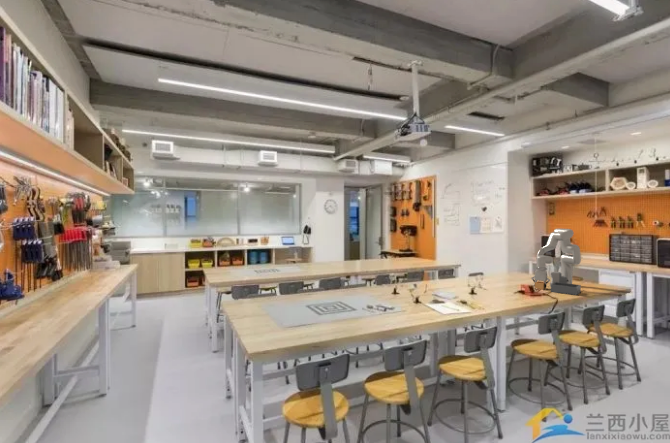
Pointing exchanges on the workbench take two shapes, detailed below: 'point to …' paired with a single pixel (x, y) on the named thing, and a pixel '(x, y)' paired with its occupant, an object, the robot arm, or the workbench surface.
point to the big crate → (566, 288)
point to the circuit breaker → (557, 278)
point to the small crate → (539, 285)
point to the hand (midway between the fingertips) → (540, 287)
